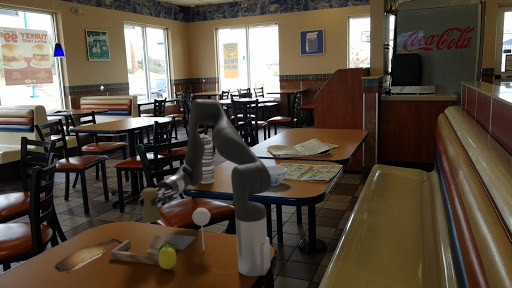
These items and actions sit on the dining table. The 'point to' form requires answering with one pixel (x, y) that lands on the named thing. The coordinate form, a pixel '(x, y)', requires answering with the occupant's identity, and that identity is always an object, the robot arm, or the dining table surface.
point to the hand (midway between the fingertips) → (146, 203)
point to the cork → (150, 211)
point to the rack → (135, 254)
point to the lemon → (167, 256)
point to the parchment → (84, 256)
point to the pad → (180, 240)
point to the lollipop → (201, 219)
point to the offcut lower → (154, 252)
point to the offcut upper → (156, 243)
